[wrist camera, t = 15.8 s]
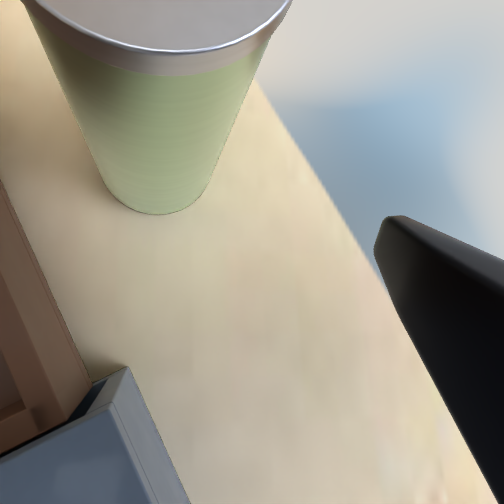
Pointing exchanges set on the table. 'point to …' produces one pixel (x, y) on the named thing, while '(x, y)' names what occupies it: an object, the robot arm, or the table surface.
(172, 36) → the tea tin
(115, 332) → the table surface
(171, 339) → the table surface
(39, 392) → the drawer
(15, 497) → the cabinet
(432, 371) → the robot arm
